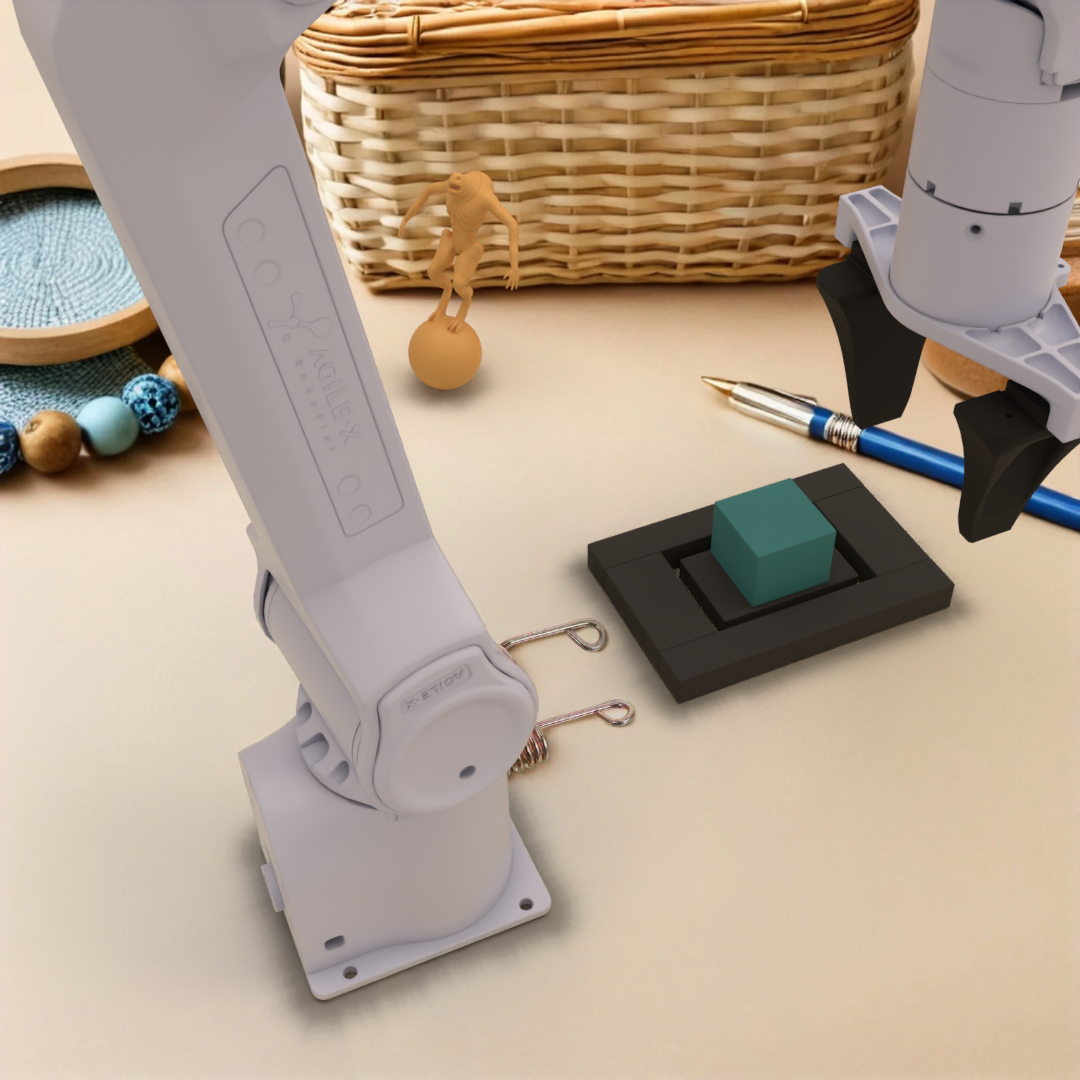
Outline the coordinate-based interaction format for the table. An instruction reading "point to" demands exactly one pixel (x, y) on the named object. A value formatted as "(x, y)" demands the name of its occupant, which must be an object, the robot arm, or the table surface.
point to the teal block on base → (765, 556)
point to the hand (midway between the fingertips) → (928, 472)
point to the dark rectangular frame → (781, 637)
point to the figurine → (457, 280)
